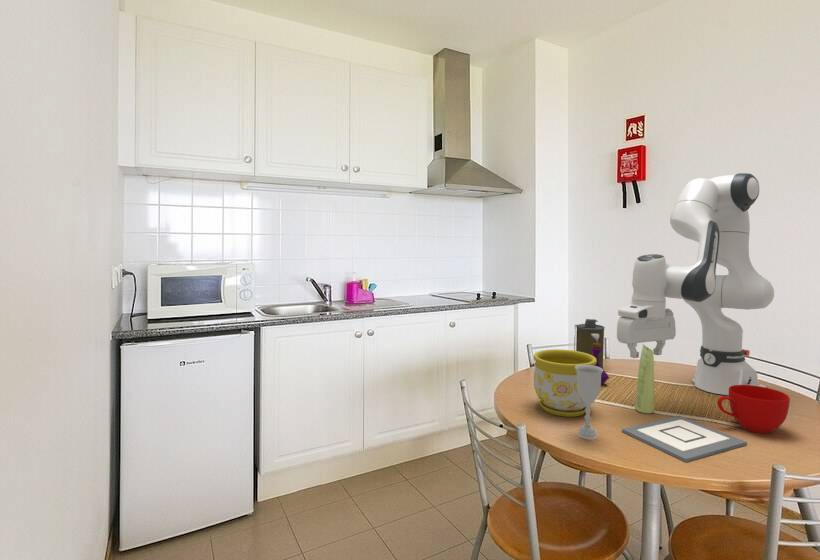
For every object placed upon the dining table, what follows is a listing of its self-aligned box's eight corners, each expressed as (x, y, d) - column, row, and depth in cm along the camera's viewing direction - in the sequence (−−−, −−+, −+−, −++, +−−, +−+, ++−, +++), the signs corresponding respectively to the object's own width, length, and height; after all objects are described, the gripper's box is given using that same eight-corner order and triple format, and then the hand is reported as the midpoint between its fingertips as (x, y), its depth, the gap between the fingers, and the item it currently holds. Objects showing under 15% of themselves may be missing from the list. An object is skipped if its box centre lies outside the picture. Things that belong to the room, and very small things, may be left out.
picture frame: (679, 418, 127) (679, 414, 127) (746, 444, 110) (746, 440, 110) (621, 431, 119) (621, 427, 119) (685, 462, 102) (685, 457, 102)
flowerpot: (571, 396, 146) (573, 347, 145) (608, 417, 129) (610, 361, 127) (522, 401, 142) (522, 351, 140) (553, 424, 124) (554, 366, 123)
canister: (600, 366, 180) (602, 317, 178) (605, 373, 170) (607, 322, 168) (572, 365, 182) (573, 317, 181) (575, 372, 172) (577, 321, 171)
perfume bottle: (609, 386, 155) (610, 336, 154) (587, 386, 155) (588, 336, 154) (600, 379, 163) (601, 331, 161) (579, 380, 163) (580, 331, 161)
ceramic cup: (702, 418, 127) (703, 384, 126) (762, 418, 126) (764, 384, 125) (733, 438, 114) (735, 401, 113) (801, 439, 113) (803, 401, 112)
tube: (659, 412, 132) (661, 347, 130) (650, 416, 129) (652, 350, 127) (640, 406, 137) (642, 344, 135) (631, 409, 134) (633, 346, 132)
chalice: (568, 430, 120) (570, 365, 119) (592, 428, 121) (594, 364, 119) (581, 442, 113) (582, 373, 111) (606, 440, 113) (608, 372, 112)
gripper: (663, 306, 137) (661, 350, 138) (613, 310, 129) (612, 356, 130) (682, 309, 131) (680, 355, 132) (631, 313, 124) (629, 361, 125)
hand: (646, 356), depth 131 cm, fingers open, 8 cm apart
